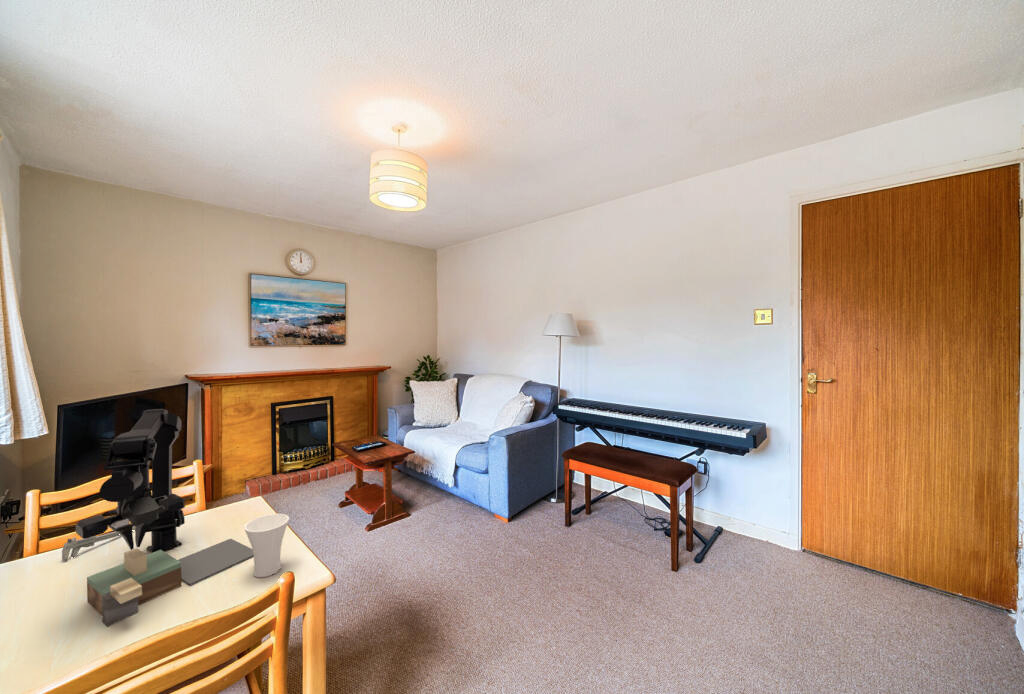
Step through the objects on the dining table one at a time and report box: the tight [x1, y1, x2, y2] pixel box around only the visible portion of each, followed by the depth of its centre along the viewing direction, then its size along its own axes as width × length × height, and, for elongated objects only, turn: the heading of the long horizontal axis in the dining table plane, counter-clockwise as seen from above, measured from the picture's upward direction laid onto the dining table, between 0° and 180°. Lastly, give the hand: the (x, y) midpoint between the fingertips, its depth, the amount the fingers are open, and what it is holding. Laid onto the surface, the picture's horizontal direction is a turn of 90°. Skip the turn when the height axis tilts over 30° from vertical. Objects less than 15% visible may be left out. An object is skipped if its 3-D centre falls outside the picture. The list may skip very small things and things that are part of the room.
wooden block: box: [110, 578, 142, 604], centre depth 88 cm, size 6×4×2 cm, turn 61°
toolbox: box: [86, 567, 183, 627], centre depth 96 cm, size 15×15×6 cm
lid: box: [86, 547, 181, 595], centre depth 97 cm, size 12×14×5 cm
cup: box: [243, 513, 290, 578], centre depth 108 cm, size 10×10×14 cm
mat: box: [177, 538, 254, 587], centre depth 112 cm, size 16×17×1 cm
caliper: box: [61, 526, 135, 562], centre depth 121 cm, size 20×1×6 cm, turn 171°
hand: (134, 547), depth 97 cm, fingers closed
